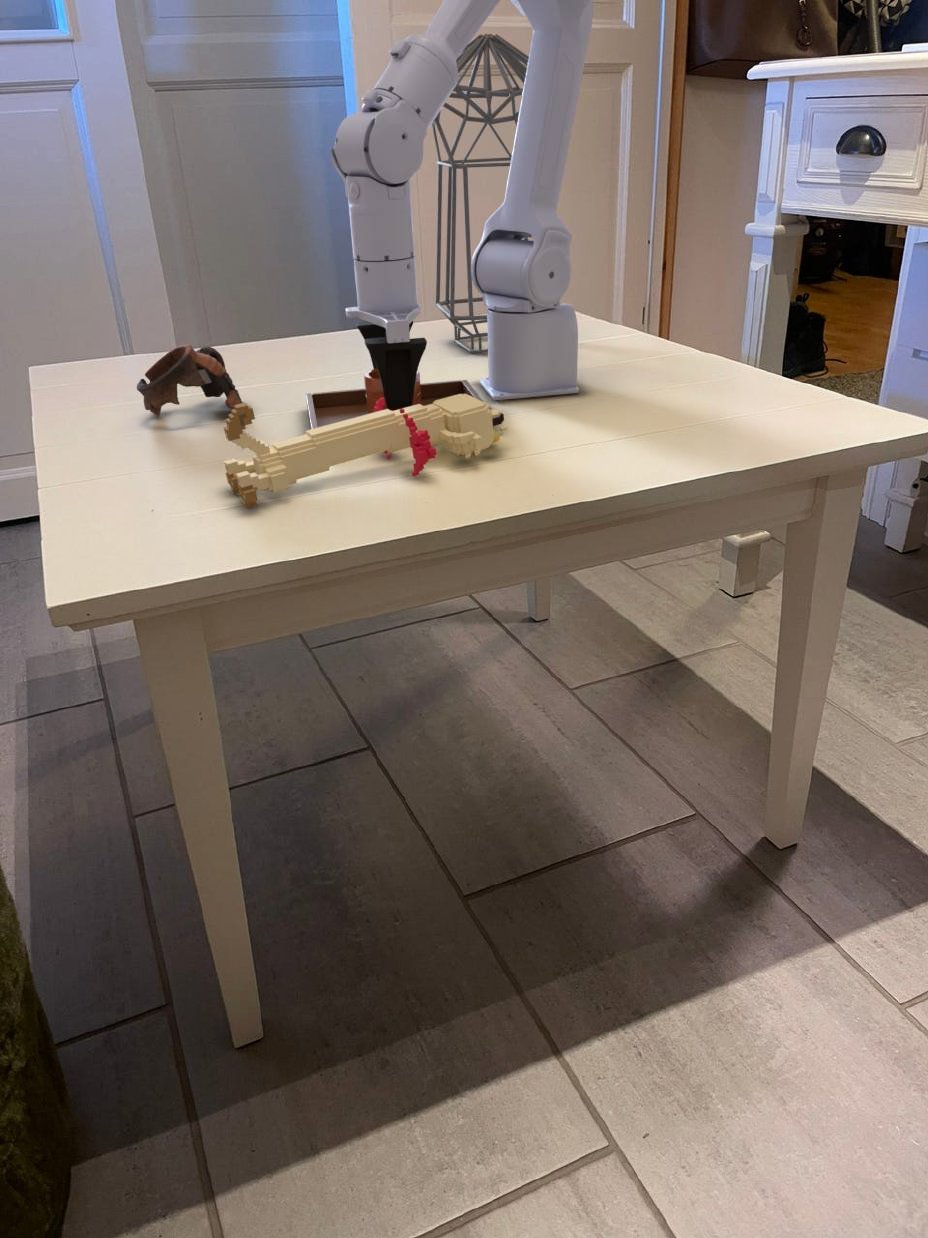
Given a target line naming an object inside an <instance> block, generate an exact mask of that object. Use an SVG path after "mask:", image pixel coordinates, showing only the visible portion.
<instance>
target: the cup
mask: <svg viewBox="0 0 928 1238" xmlns="http://www.w3.org/2000/svg"><path fill="white" fill-rule="evenodd" d="M363 381H364V389H365V393H366V404H367V414H370V413H374V411H373V409H374V407H375V406H376V402H377V401H378V400H380V398H382V397H383V398H384V400H385V397H384V393H383V389H382V384H381V380H380V376H379V373H378V369H377V368H376V369H374V368H373V369H370V370H367V371H365V373H364V374H363ZM420 384H421V372H420V370H419V369H418V370H417V375H416V381H415V388H414V397H413V404H412V406H413V405H417V404H421V387H420ZM384 403H385V405H384V408H383V410H385V409H388V408H387V405H386V401H385V402H384ZM421 405H422V404H421ZM381 411H382V410H381Z"/></svg>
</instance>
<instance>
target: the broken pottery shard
mask: <svg viewBox="0 0 928 1238" xmlns="http://www.w3.org/2000/svg"><path fill="white" fill-rule="evenodd" d="M144 376H145V377H146V379H148V381H149V382H147V381H146V379H144V378H141V379H139V381H138V383H137V384H136V391H138V392H139V393H140V394H141V395H142V396H143V407H144V409H145V411H149V412H150V413H152V414H153V415H155V416H156V417H159V416H160V415H161V412H162V407H163V406H164V405H166V404H173V405H180V401H179V396H178V385H180V386H182V387H186V388H188V387H196V388H197V387H198V388H199V387H200V389H201V390H202V392H203V395H204V396H205V398H221V396H222V395H223V394H224V395H225V397H226V399H225V401H224V404H225V405H226V406H227V408H229V409H230V414H232V412H231V410H233V409H234V405H237V404H241V403H244V402H243V401H242V398H241V395H240V393H239V390H238V389H236V385H235V384H234V381H233V379H232V378H231V377H230V373H228V372H227V368H226V364H225V360H224V358H223V356H222V354H221V353H220V352H219V351H218V350H216V349H215V348H214V347H212V346H208V345H207V346H202V347H200V348H199V349H197V350H195V349H194V347H193V346H192V345H191V344H189V343H188V344H182V345H180V346H178V347H175V348H173V349H172V350H170V351H169V352H167V353H166V354H165V355H164V356H162V357H161V358H159V359H158V360H157V361H156V362H155V363H154V364H153V365H152V366H150V368H149V369H148V370H146V372H145V373H144Z"/></svg>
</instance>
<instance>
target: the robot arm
mask: <svg viewBox="0 0 928 1238" xmlns="http://www.w3.org/2000/svg"><path fill="white" fill-rule="evenodd" d="M500 1H501V0H443V1H442V3H441V4H440V6H439V7H438V10H437V12H436V13H435V15H434V17H433V19H432V20H431V22H430V24H429V26H428V28H427V30H426V31H425V33H424V34H416V33H415V34H411V35H407V36H406V38H404V40H397V41H395V42H394V44H393V46H392V47H391V48H390V50H389V55H390V56H391V57H392V59H391V60H390V62H389V64H387V66H386V68H385V70H384V71H383V73H382V74H381V76H380V77H379V79H378V81H376V84H375V85H374V87H373V88H372V89H368V90H366V92H365V93H364V95H363V96H362V98H361V100H362V103H363V104H362V106H361V111H357V112H354V113H353V114H349V115H347V116H346V117H345V118H344V119H343V120H342V121H341V123H340V124H339V126H338V128H337V130H336V134H335V139H334V146H332V147H331V148H329V154H330V158H331V161H332V164H333V167H334V169H335V171H336V172H337V173H338V175H339V176H340V177H341V179H342V181H343V184H344V190H345V197H347V201H348V212H349V224H350V234H351V247H352V258H353V270H354V279H355V291H356V303H357V306H351V307H345V316H346V318H347V319H359V320H361V321H357V322H356V323H355V325H356V328H357V329H358V331H359V332H360V334H361V337H362V338H363V341H364V345H365V347H366V349H367V351H368V354H369V356H370V360H371V363H372V368H373V369H376V368H377V369H378V373H379V376H380V380H381V384H382V389H383V393H384V397H385V401H386V405H387V408H388V409H389V410H392V411H395V410H398V409H402V408H406V407H410V406H412V404H413V397H414V388H415V381H416V375H417V370H418V371H419V366H420V362H421V360H422V357H423V355H424V353H425V351H426V348H427V344H428V341H427V339H426V338H425V337H415V338H414V337H413V338H411V336H410V335H411V334H410V333H411V330H412V328H413V326H414V320H416V318H417V317H419V315H420V314H421V304H420V303H419V302H418V301H419V300H418V286H417V285H418V284H417V283H418V282H417V268H416V251H415V237H414V220H413V205H412V204H413V203H412V202H413V201H412V187H411V185H412V184H411V178H412V177H413V176H414V175H415V173H416V172H418V171H419V170H420V169H421V166H422V163H423V158H424V141H425V138H426V137H427V135H428V131H429V129H430V127H432V125H431V124H432V123H433V121H434V119H435V118H436V116H437V115H438V113H439V112H440V110H441V111H442V109H443V105H444V104H445V102H446V103H447V101H448V99H449V98H450V97H449V96H450V94H451V93H453V92H452V91H453V89H454V88H455V86H456V85H457V83H458V80H459V73H458V69H457V63H456V60H457V59H458V57H459V56H460V54H461V53H462V52H463V50H464V49H465V48H466V46H467V45H468V44H469V43H470V42H472V40H473V38H474V37H475V36H476V34H477V33H478V31H479V30H480V29H481V27H482V26H483V25H484V23H485V22H486V21H487V19H488V18H489V16H490V15H491V14H492V12H493V11H494V9H495V8H496V7H497V5H498V4H499V3H500ZM509 1H510V2H511V4H512V5H513V6H514V7H515V8H516V9H517V10H518V12H519V13H520V14H521V15H522V16H523V17H525V18H526V19H527V21H528V23H529V25H530V26H531V29H532V37H531V43H530V49H529V54H528V56H529V60H528V66H526V68H527V71H526V77H525V83H524V84H523V88H524V89H523V95H521V100H520V101H521V102H520V106H519V111H520V112H519V117H518V124H517V126H516V130H515V135H514V142H513V147H512V154H511V155H512V159H511V164H510V166H509V170H508V177H507V181H506V189H505V192H504V193H505V194H504V199H503V200H504V201H503V203H502V204H501V205H500V206H499V207H498V208H497V209H496V210H495V211H494V212H493V213H492V214H491V215H490V216H489V217H488V219H487V220H486V221H485V223H484V227H483V228H484V229H483V232H482V233H483V234H482V237H481V239H480V242H479V244H478V245H477V247H476V248H475V250H474V252H473V254H472V257H471V276H472V284H473V286H474V287H475V289H476V290H477V291H478V293H480V294H481V296H482V297H483V301H482V305H484V306H486V315H487V322H486V325H487V326H486V327H487V333H488V336H487V349H488V352H487V361H488V366H487V367H488V377H483V378H480V379H479V384H480V385H481V386H482V388H484V390H485V391H486V392H487V393H488V395H489V396H490V397H491V398H492V400H494V401H503V400H511V399H512V400H513V399H525V398H526V399H527V398H535V397H544V396H545V397H547V396H558V395H568V394H578V393H579V392H580V388H579V387H578V362H579V361H578V360H579V359H578V355H579V354H578V353H579V352H578V351H579V326H578V318H577V315H576V311H575V309H574V307H573V305H571V304H570V303H560V301H561V300H562V299H563V298H564V296H565V294H566V292H567V291H568V289H569V286H570V284H571V283H570V282H571V278H572V262H571V244H572V239H573V234H572V232H571V230H570V229H569V227H567V225H566V224H565V223H564V221H563V220H562V219H561V216H559V214H558V212H557V211H558V207H559V201H560V195H561V191H562V185H563V180H564V176H565V175H564V174H565V170H566V169H565V168H566V164H567V159H568V153H569V147H570V144H571V143H570V142H571V138H572V131H573V127H574V122H575V116H576V111H577V105H578V100H579V95H580V89H581V84H582V80H583V74H584V68H585V64H586V58H587V53H588V47H589V42H590V37H591V31H592V26H593V19H594V18H593V17H594V0H509ZM526 237H528V238H532V240H530V239H528V240H524V238H526Z"/></svg>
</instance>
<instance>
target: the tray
mask: <svg viewBox="0 0 928 1238" xmlns="http://www.w3.org/2000/svg"><path fill="white" fill-rule="evenodd" d="M420 387H421V404H422V405H423V406H426V405H430V404H433V402H434V401H436V400H439V399H443V398H447V397H450V396H454V395H458V394H467V395H469V396H471V397H474V398H476V399H478V400H480V401H482V402H484V403H485V401H484V400H483V399H482V398H481V397H480V395H479V394H478V392H477V391H476V390H475V389H474V386H472V385H471V384H470V383H469V381H468V380H467V379H460V380H447V381H436V382H426V383H424V382H423V383H420ZM305 397H306V398H305V400H306V406H307V414H308V420H309V426H310V430H311V429H315V428H318V427H322V426H326V425H329V424H333V423H337V422H341V421H344V420H348V419H352V418H356V417H359V416H363V415H367V404H366V393H365V388H356V389H355V388H354V389H344V390H343V389H342V390H334V391H333V390H332V391H320V392H310V393H305Z"/></svg>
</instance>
